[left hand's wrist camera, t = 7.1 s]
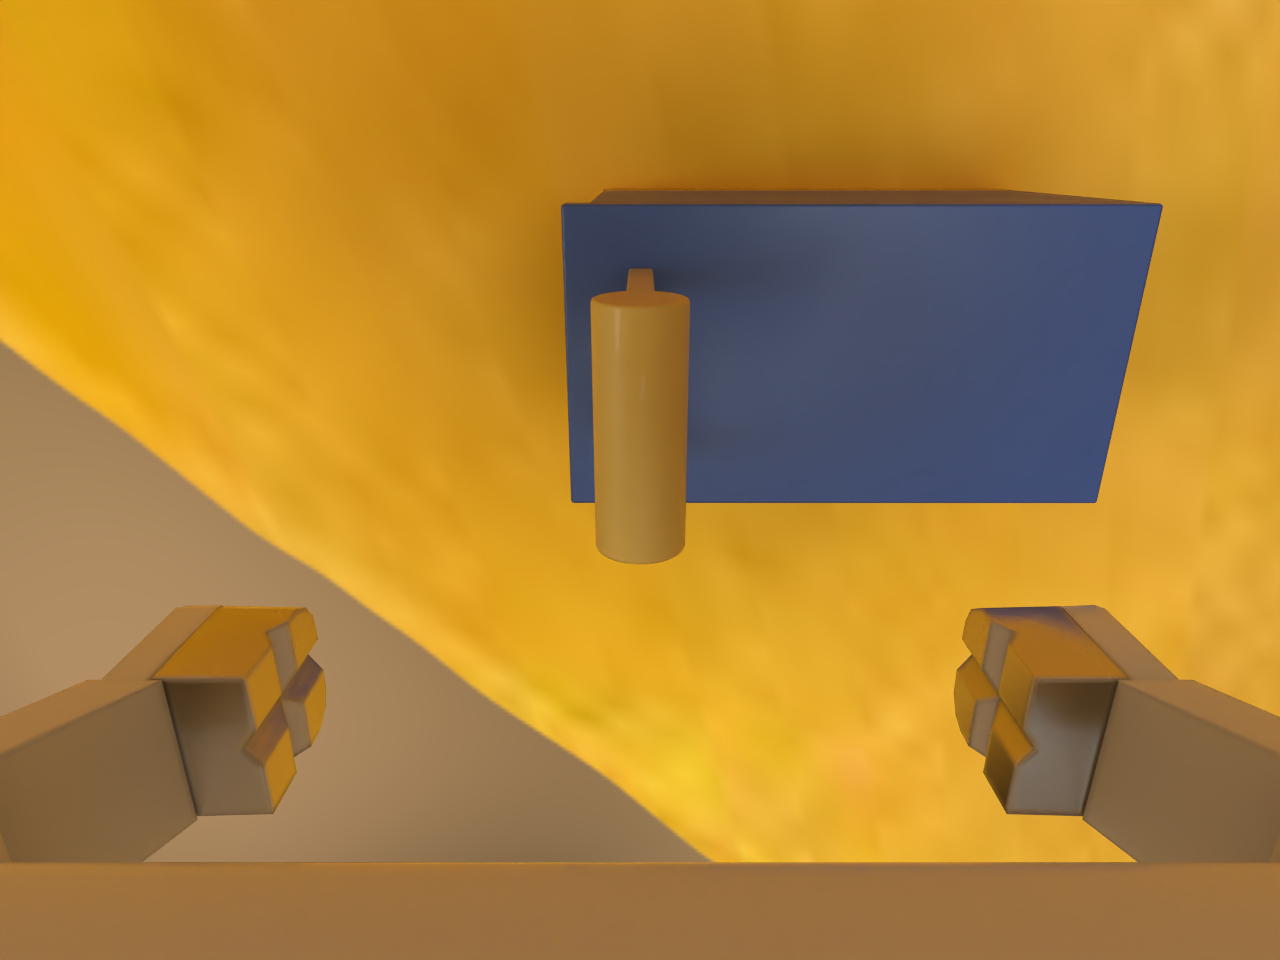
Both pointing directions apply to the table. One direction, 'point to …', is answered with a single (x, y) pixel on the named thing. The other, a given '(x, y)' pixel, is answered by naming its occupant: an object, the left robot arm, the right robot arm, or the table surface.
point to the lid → (842, 354)
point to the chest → (838, 196)
